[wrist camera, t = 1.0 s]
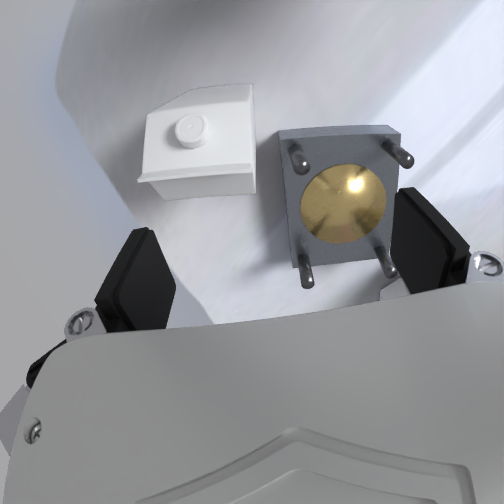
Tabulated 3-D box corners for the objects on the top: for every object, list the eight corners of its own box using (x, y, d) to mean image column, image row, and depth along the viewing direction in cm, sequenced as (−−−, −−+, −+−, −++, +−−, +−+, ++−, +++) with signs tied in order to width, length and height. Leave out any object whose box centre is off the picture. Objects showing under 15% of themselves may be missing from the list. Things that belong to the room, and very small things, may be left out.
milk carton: (255, 139, 34) (255, 223, 19) (197, 144, 34) (149, 229, 19) (252, 83, 30) (247, 111, 14) (190, 89, 30) (124, 127, 15)
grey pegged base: (277, 130, 33) (284, 154, 26) (387, 125, 32) (420, 147, 25) (290, 250, 44) (296, 294, 37) (379, 240, 42) (399, 280, 35)
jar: (387, 315, 53) (404, 365, 44) (369, 295, 50) (387, 350, 40) (424, 291, 49) (447, 340, 40) (410, 269, 46) (436, 321, 36)
